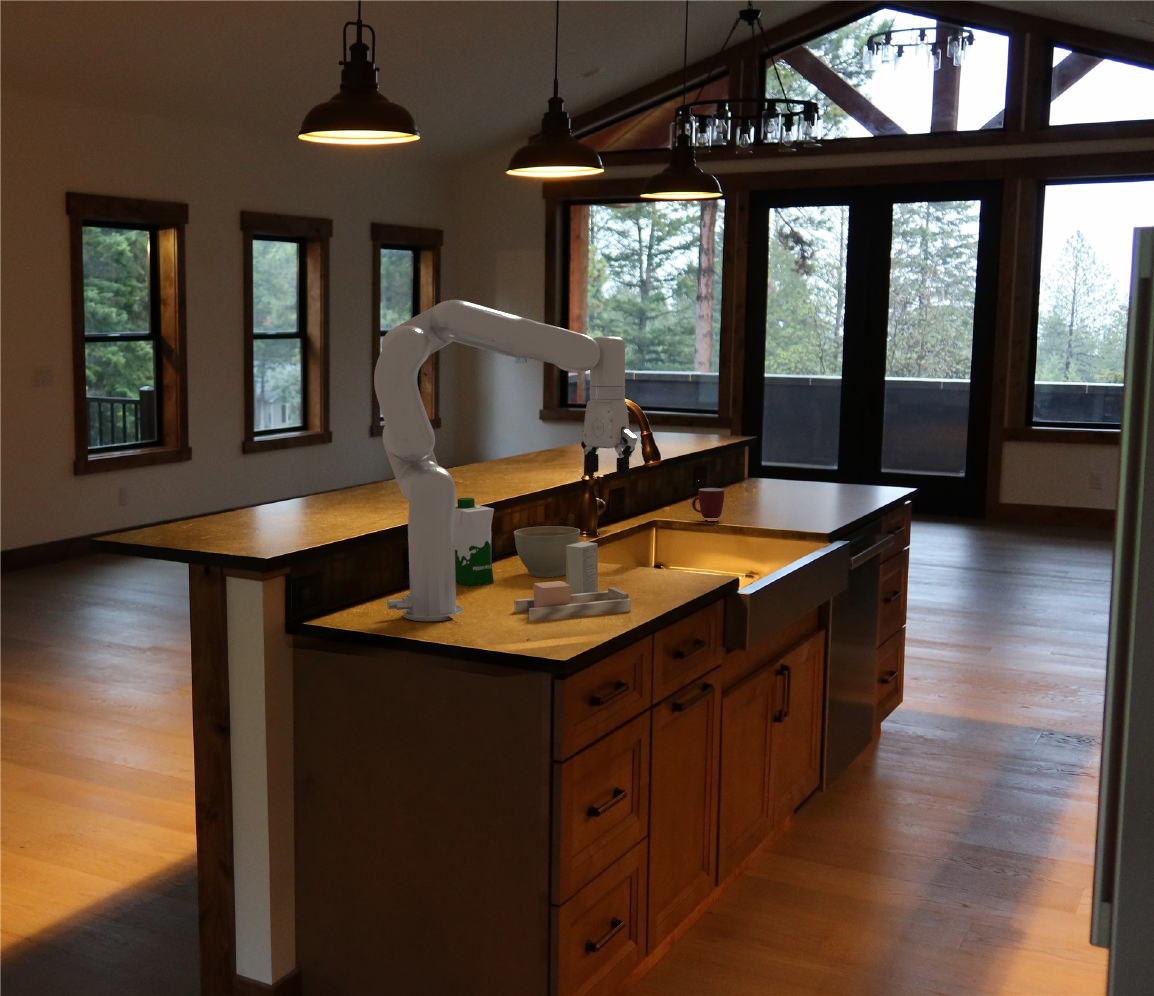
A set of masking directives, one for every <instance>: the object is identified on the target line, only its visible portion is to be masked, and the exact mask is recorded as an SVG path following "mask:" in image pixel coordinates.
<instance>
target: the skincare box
mask: <svg viewBox="0 0 1154 996" xmlns="http://www.w3.org/2000/svg"><path fill="white" fill-rule="evenodd" d="M598 559H599V558H598V543H596V542H591V541H589V542H588V541H579V542H578V543H574V544H570V545H566V572H567V574H565V576H566V584H568V585H570V586H571V594H581V593H592V592H599V569H598V568H599V566H598V565H599V564H598V561H599V560H598Z"/></svg>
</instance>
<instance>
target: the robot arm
mask: <svg viewBox="0 0 1154 996" xmlns="http://www.w3.org/2000/svg"><path fill="white" fill-rule="evenodd" d="M382 339H383V340H382V341H381V352H380V354H379V356H378V359H377V362H376V365H375V369H374V376H373V378H374V380H373V381H374V384H373V385H374V390H375V394H376V399H377V401H378V405H379V408H380V411H381V414H382V418H383V420H384V423H385V424H384V426H383V430H382V442H383V446H384V450H385V452H386V455H387V458H388V462H389V464H390V466H391V470H392V472H393V475H394V477H395V481H396V483H397V485H398V488H399V490H400V493H401V494H402V496H403V497H404V498H405V500H407V501H408V521H407V539H408V540H407V542H408V562H409V563H408V569H409V574H408V575H409V593H406V594H405V597H404V596H403V597H402V598H401V599H390V600H389V599H388V600H387V602H386V605H387V606H386V607H387V609H388V610H397V611H400V610H401V611H402V610H403V611H402V616H403V618H404V619H406V620H409V621H410V620H411V621H414V622H415V621H416V622H443V621H444V622H445V621H451V620H454V618H453V617H451V616H455V615H459V614H462V613H463V612H464V611H465V608H463V607H462V606H460V605H457V584H456V575H455V537H454V517H455V507H456V503H457V488H456V483H455V481H454V479H453V477H452V475H451V474H450V473H449V472H448V471H447V469H446V468H443V467H442V466H439V464H438V462H437V461H438V460H437V459H436V455H435V452H434V448H435V444H436V436H435V430H434V428H433V426H432V424H431V421H430V420H429V416H428V414H427V411H426V408H425V405H424V402H423V400H422V396H421V393H420V390H419V386H418V374H419V372H420V368H421V367H422V365H423V364H424V363H425V362H426V361H427V359H428V358H429V356H430V355H432V354H434V353H435V352H437V351H439V350H441V349H442V348H444V347H445V346H447V345H449V344H451V343H453V342H455V343H458V344H459V343H460V344H461V345H462V344H463V345H466V346H470V347H473V348H477V349H479V350H484V351H488V352H492V353H495V354H499V355H502V356H505V357H511V358H515V359H516V358H517V359H529V360H534V361H536V360H537V361H540V362H545V363H547V364H548V363H549V364H552V365H555V366H557V368H558V369H560V370H563V371H566V372H579V373H581V372H582V373H584V372H589V391H588V394H589V400H588V401H587V403H586V407H585V414H584V426H583V427H584V428H583V430H582V431H580V432H579V433H578V437H579V440H580V446H581V448H582V449H583V454H584V455H585V472H586V474H594V473H598V472H599V467H600V466H599V453H597V452H598V451H599V449H614V450H615V452H616V453H617V456H618V457H616V476H617V477H619V478H620V477H628V476H630V458H631V457H632V455H633V453H634V451H635V449H636V446H637V443H638V437H637V436H636V435H635V434H634V433H632V432H631V431H630V423H629V422H630V421H629V419H630V418H629V412H628V405H627V401H626V342H625V340H624V338H622V337H620V336H595V337H593V338H592V337H591V336H588V335H586V334H583V333H580V332H579V333H578V332H576V331H572V330H569V329H565V328H562V327H558V326H554V325H551V324H547V323H542V322H539V321H536V320H533V319H529V318H525V317H522V316H520V315H519V316H518V315H516V314H511V313H507V312H504V311H500V310H497V309H493V308H491V307H488V306H487V307H486V306H483V305H479V304H476V303H472V302H469V301H465V300H460V299H449V300H446V301H445V300H443V301H442V302H440V303H437V304H436V305H434V306H432V307H431V308H429V309H427V310H425V311H423V312H421V313H419V314H418V315H415V316H414V317H412V318H410V319H408V320H406V321H403V322H402V323H400V324H399V325H396V326H394V327H393V328H391V329H390V330H388V331H387V332H386V333H385V335H384V337H383V338H382Z"/></svg>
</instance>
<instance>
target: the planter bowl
mask: <svg viewBox="0 0 1154 996" xmlns="http://www.w3.org/2000/svg"><path fill="white" fill-rule="evenodd" d="M580 534H581V529H579V528H575V527H572V526H571V527H570V526H558V525H557V526H554V525H553V526H552V525H551V526H550V525H549V526H547V525H546V526H533V527H524V528H520V529H516V530H515V531H513V536H514V542H515V548H516V552H517V554H518V557H519V559H520V561H521V563H522V564H523V566H524V567H525V568H526V570H527V574H528V576H530V577H531V576H532V577H536V578H556V577H563V576H566V574H567V572H566V545H570V544H574V543H578V542H580Z"/></svg>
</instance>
